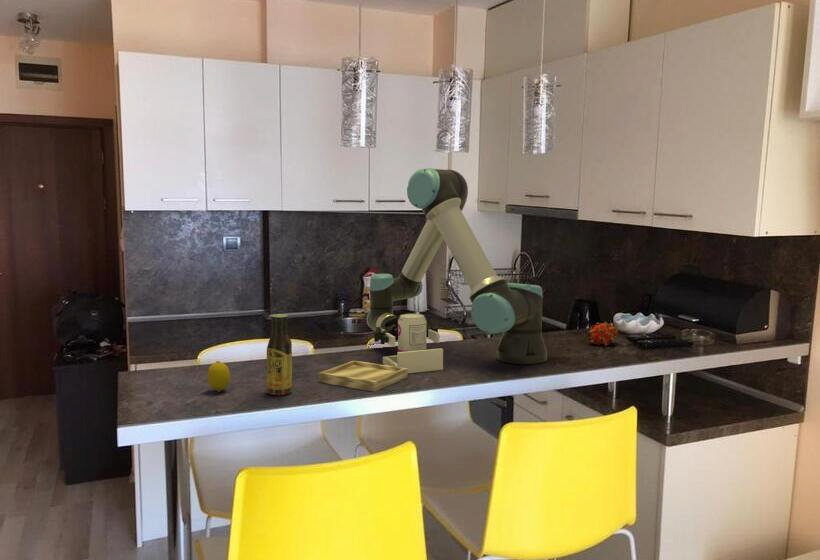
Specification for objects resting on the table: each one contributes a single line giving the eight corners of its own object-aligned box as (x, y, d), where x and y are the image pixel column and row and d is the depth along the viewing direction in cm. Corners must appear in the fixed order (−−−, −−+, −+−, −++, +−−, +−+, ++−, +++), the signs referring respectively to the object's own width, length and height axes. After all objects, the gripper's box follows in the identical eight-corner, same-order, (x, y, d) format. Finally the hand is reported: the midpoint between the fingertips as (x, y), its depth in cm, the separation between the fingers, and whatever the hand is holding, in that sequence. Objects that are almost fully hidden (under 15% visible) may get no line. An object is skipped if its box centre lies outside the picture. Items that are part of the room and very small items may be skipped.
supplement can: (395, 369, 190) (394, 317, 188) (402, 362, 198) (402, 312, 196) (422, 370, 188) (422, 318, 186) (428, 363, 196) (428, 313, 194)
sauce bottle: (261, 394, 166) (259, 315, 163) (279, 388, 171) (277, 312, 168) (280, 398, 162) (278, 318, 160) (298, 392, 167) (296, 314, 165)
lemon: (210, 389, 170) (209, 358, 169) (232, 388, 170) (231, 358, 169) (205, 395, 165) (204, 363, 164) (228, 394, 165) (226, 363, 164)
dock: (424, 359, 201) (424, 339, 201) (442, 369, 189) (443, 349, 188) (382, 363, 197) (382, 343, 196) (398, 374, 184) (398, 353, 183)
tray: (407, 377, 181) (407, 368, 181) (374, 391, 167) (374, 382, 167) (353, 368, 190) (353, 360, 190) (318, 382, 176) (318, 372, 176)
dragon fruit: (620, 348, 223) (589, 356, 219) (607, 330, 228) (577, 337, 225) (628, 331, 217) (596, 339, 213) (614, 313, 222) (583, 320, 219)
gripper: (427, 335, 213) (455, 349, 194) (353, 341, 204) (374, 356, 185) (427, 312, 212) (456, 324, 193) (353, 317, 204) (374, 330, 184)
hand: (416, 340), depth 189 cm, fingers open, 13 cm apart
